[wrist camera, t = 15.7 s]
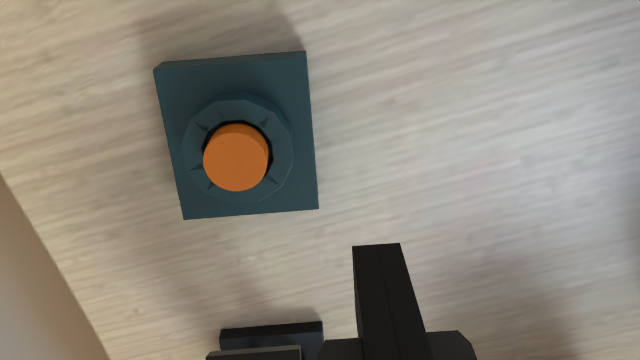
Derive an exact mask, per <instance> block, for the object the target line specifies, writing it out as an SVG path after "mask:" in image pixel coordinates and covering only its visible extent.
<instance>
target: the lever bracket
mask: <svg viewBox="0 0 640 360" xmlns="http://www.w3.org/2000/svg"><path fill="white" fill-rule="evenodd" d="M219 343H220V348H221V351H226V350H238V349H251V348H263V347H276V346H288V345H300V346H301V359H302V360H318V353H319V351H320V349H321V347H322V345H323V343H324V336H323V325H322V321H321V322H308V323H296V324H283V325H271V326H258V327H246V328H233V329H221V332H220V337H219Z"/></svg>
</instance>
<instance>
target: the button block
mask: <svg viewBox="0 0 640 360" xmlns="http://www.w3.org/2000/svg"><path fill="white" fill-rule="evenodd" d="M153 73H154V78H155V83H156V88H157V93H158V98H159V102H160V107H161V112H162V117H163V122H164V127H165V132H166V136H167V141H168V146H169V151H170V156H171V161H172V166H173V170H174V175H175V180H176V185H177V190H178V195H179V200H180V204H181V209H182V214H183V219H184V220H188V219H201V218H213V217H226V216H238V215H251V214H263V213H276V212H288V211H301V210H313V209H319V201H318V188H317V176H316V164H315V152H314V140H313V128H312V116H311V104H310V92H309V79H308V67H307V55H306V51H295V52H282V53H270V54H257V55H245V56H232V57H220V58H208V59H195V60H183V61H170V62H162V63H161V64H159V65H158V66H157V67H155V68H154V69H153ZM233 123H241V124H246V125H249V126H251V127H253V128H255V129H256V130H257V131H258V132H260V133H261V135H262V136H263V137H264V139H265V140H266V142H267V145H268V151H269V155H268V162H267V168H266V172H265V174H264V176H263V178H262V179H261V181H260V182H259V183H258V184H256V185H255V186H254V187H252V188H250V189H247V190H244V191H230V190H226V189H223V188H221V187H219V186H217V185H216V184H215V183H213V182H212V181H211V179H210V178H209V177H208V175H207V174H206V172H205V169H204V165H203V155H204V151H205V149H206V147H207V145H208V143H209V141H210V139H211V137H212V135H213V134H214V133H215V132H216V131H217V130H218V129H219V128H221V127H223V126H225V125H228V124H233Z"/></svg>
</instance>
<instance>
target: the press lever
mask: <svg viewBox="0 0 640 360" xmlns="http://www.w3.org/2000/svg"><path fill="white" fill-rule="evenodd" d="M206 360H302V359H301V346H300V345H288V346H276V347H263V348H251V349H238V350H226V351H213V352H210V353H209V354H208V355H207V356H206Z"/></svg>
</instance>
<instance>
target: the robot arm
mask: <svg viewBox="0 0 640 360" xmlns="http://www.w3.org/2000/svg"><path fill="white" fill-rule="evenodd" d="M352 254H353V273H354V291H355V310H356V322H357V330H358V338H350V339H334V340H325V341H324V343H323V345H322V347H321V349H320V351H319V353H318V360H477V358H476V355H475V353H474V350H473V348H472V345H471V343H470V342H469V341H468V340H467V339H466V338H465V337H464V336H463V335H462V334H461V333H460V332H459V331H458V330H454V331H439V332H426V331H425V327H424V324H423V320H422V317H421V314H420V310H419V307H418V303H417V300H416V297H415V293H414V290H413V286H412V283H411V280H410V276H409V273H408V269H407V266H406V263H405V259H404V256H403V252H402V249H401V246H400V243H391V244H376V245H361V246H352Z"/></svg>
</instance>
